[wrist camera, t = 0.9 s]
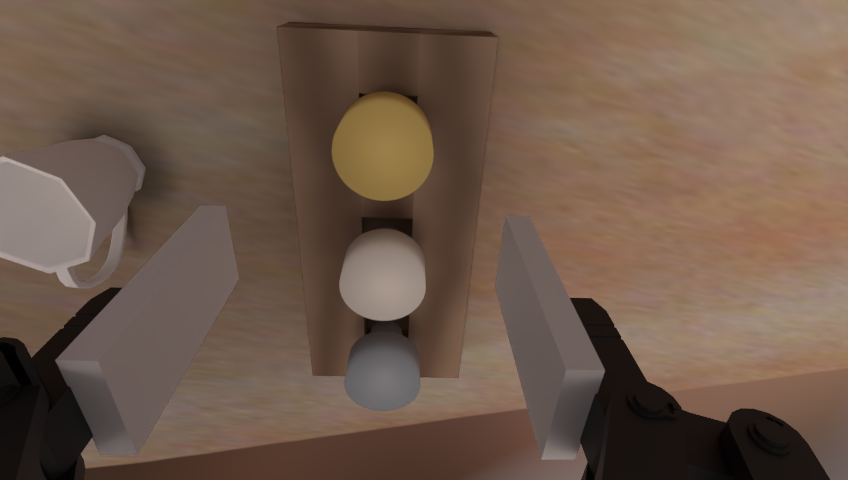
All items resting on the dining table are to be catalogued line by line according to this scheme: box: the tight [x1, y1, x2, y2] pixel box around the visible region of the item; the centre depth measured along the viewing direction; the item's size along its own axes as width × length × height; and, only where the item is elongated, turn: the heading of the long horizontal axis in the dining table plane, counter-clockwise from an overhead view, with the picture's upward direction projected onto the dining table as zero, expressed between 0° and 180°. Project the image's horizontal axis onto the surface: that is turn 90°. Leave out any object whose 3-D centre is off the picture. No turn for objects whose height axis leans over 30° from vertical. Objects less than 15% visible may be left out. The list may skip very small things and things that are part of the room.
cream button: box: [339, 227, 426, 321], centre depth 29 cm, size 5×5×5 cm
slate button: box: [345, 321, 420, 411], centre depth 33 cm, size 5×5×5 cm
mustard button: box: [332, 91, 434, 201], centre depth 25 cm, size 5×5×5 cm
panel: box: [277, 22, 498, 378], centre depth 33 cm, size 12×26×3 cm, turn 177°
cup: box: [0, 135, 146, 289], centre depth 29 cm, size 7×10×8 cm
